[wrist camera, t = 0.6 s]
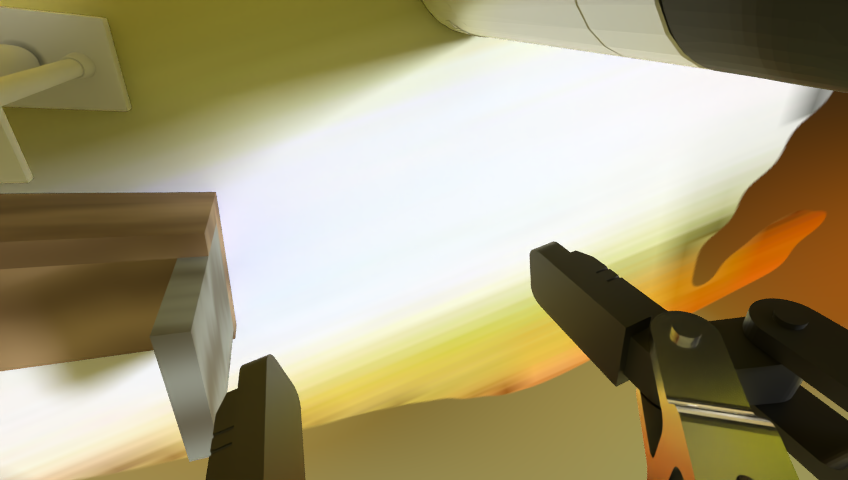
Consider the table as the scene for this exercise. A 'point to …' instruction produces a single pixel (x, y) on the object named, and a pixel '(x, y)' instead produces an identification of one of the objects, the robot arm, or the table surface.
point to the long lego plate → (53, 72)
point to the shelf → (121, 291)
